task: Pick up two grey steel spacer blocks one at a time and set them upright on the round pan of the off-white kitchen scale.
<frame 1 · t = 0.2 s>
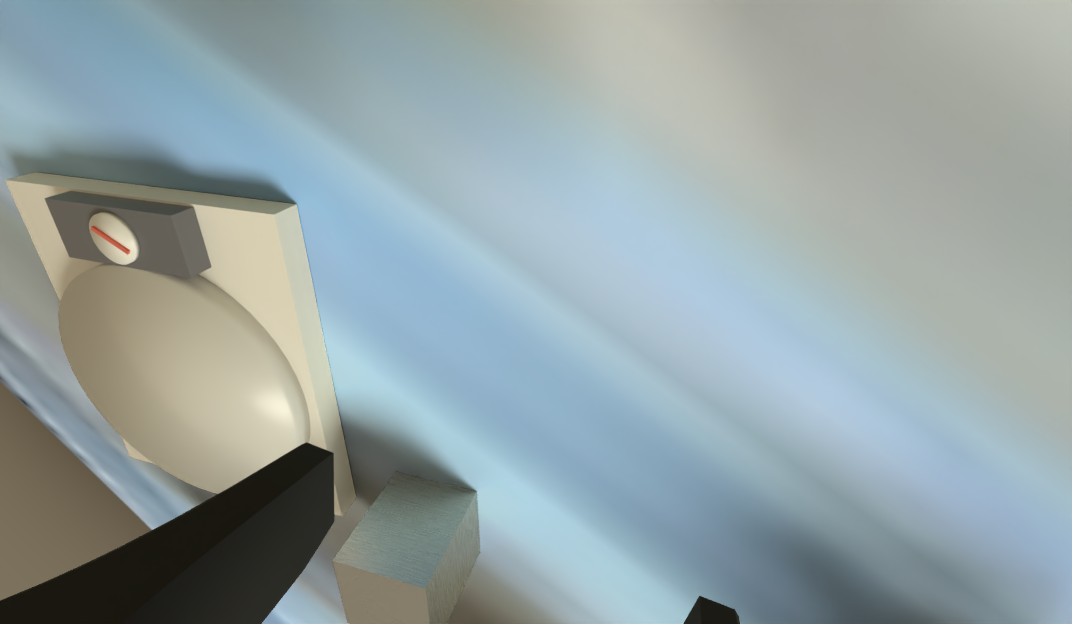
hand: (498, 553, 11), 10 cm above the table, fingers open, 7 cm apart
scale: (214, 365, 26), on the table
spacer a: (439, 511, 27), on the table
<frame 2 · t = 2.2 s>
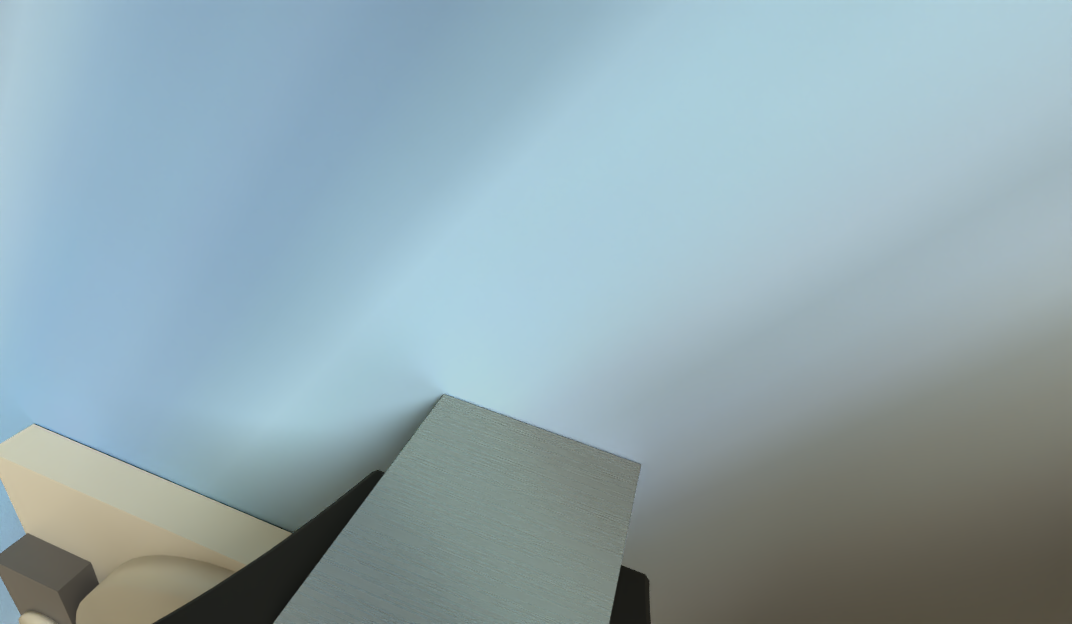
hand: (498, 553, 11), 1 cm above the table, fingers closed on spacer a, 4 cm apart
spacer a: (522, 498, 12), on the table, touching gripper
when the fingers open (4 cm above the table, at t = 5.9 s): spacer a stays where it is, resting on scale.
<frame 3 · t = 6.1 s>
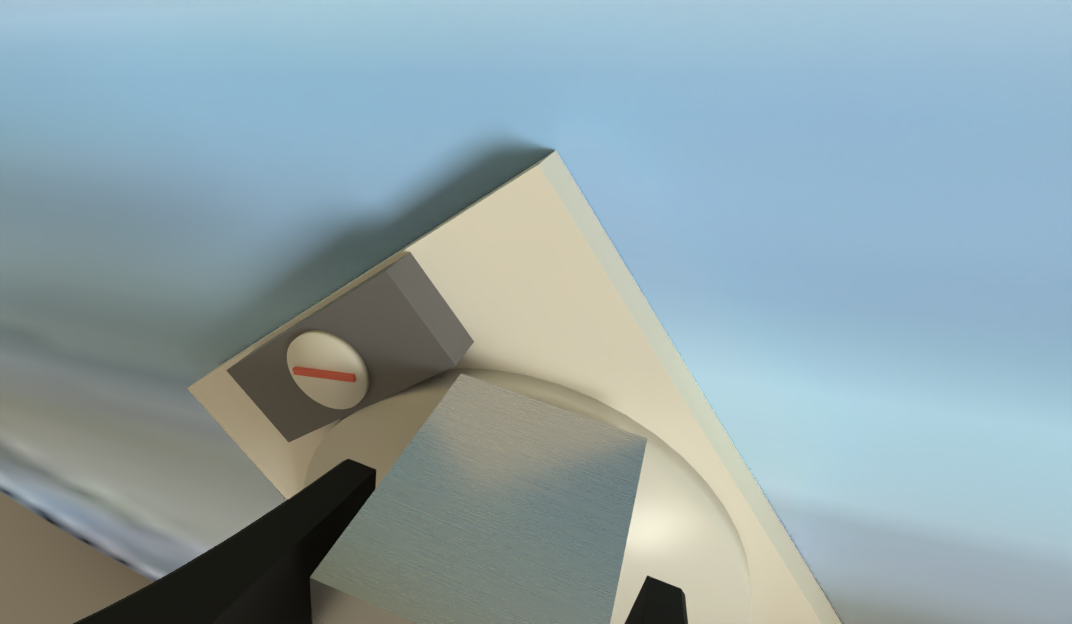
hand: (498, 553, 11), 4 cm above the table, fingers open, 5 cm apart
scale: (530, 519, 17), on the table
spacer a: (534, 472, 12), point 2 cm above the table, touching scale
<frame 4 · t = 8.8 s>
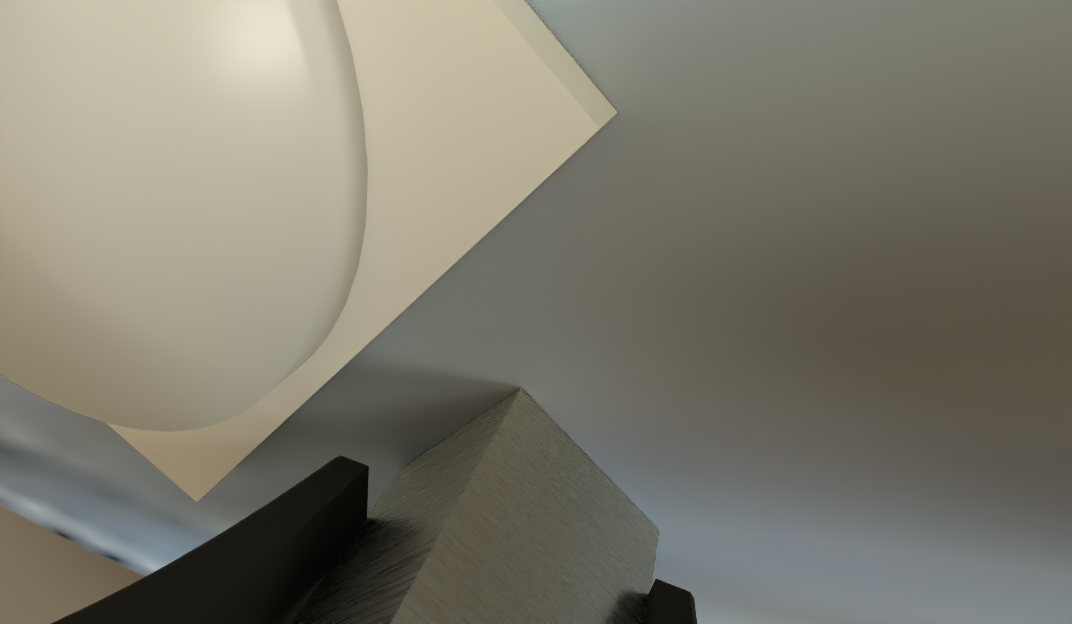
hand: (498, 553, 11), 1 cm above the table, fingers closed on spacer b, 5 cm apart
scale: (104, 83, 10), on the table
spacer b: (522, 497, 12), on the table, touching gripper
when the fingers open (4 cm above the table, at t = 12.4 s): spacer b stays where it is, resting on scale.
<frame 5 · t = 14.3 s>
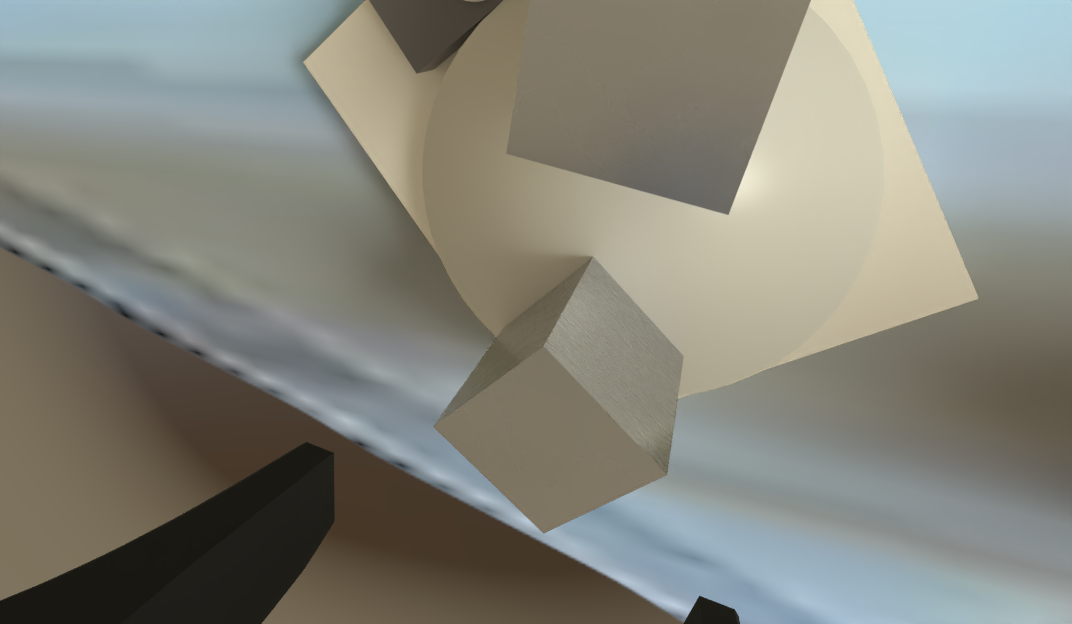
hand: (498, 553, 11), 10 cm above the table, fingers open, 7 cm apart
scale: (637, 189, 17), on the table
spacer a: (674, 41, 13), point 2 cm above the table, touching scale
spacer b: (589, 341, 17), point 2 cm above the table, touching scale
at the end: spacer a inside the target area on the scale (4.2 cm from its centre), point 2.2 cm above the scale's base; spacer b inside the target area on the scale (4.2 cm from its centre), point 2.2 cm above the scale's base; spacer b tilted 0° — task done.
